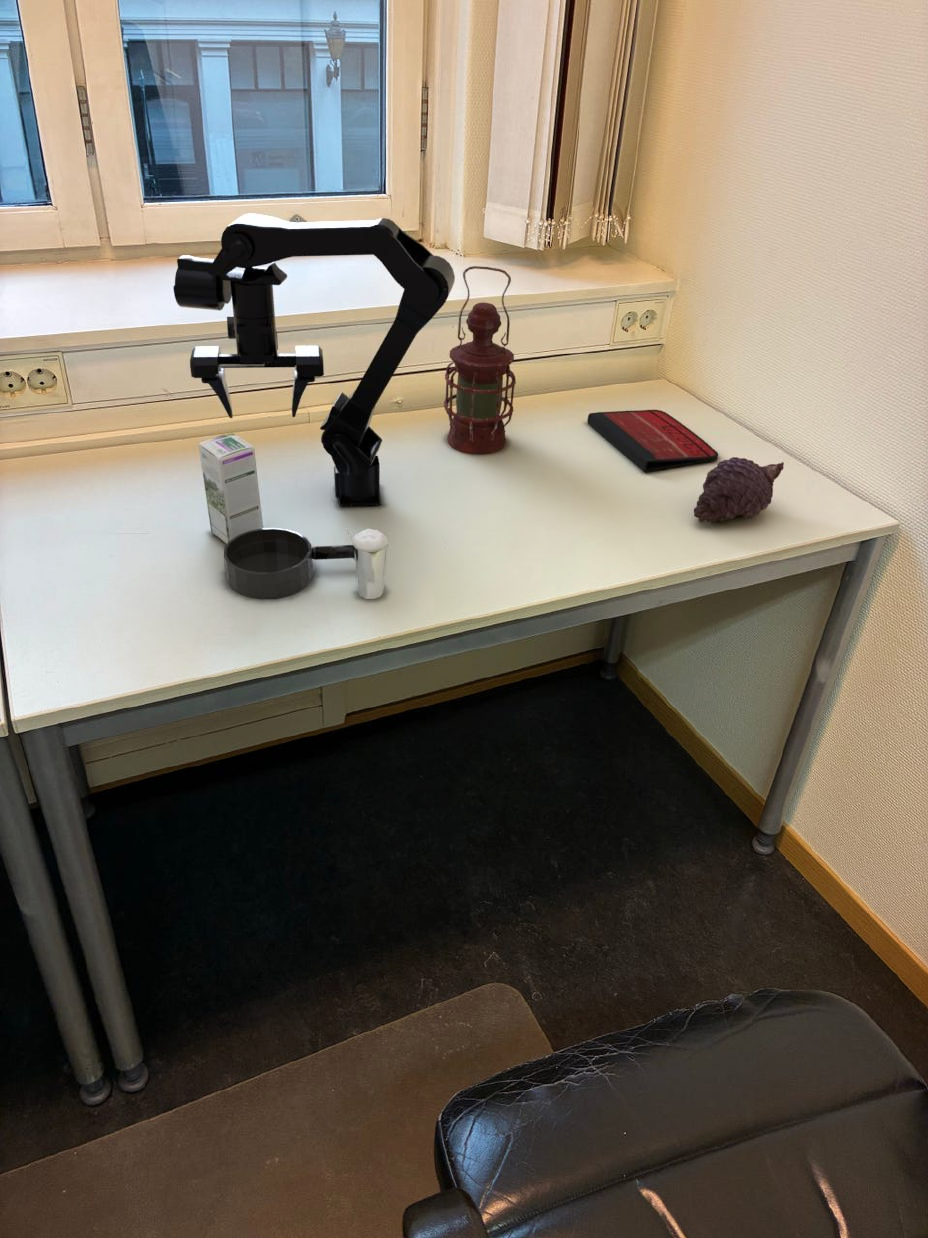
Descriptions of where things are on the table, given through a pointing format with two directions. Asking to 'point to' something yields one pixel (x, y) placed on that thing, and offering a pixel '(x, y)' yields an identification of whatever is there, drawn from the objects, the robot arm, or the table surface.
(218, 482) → the syrup box
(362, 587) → the milkshake
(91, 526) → the table surface
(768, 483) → the pine cone
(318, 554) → the pan handle
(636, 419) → the binder
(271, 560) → the pan
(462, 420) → the lantern
